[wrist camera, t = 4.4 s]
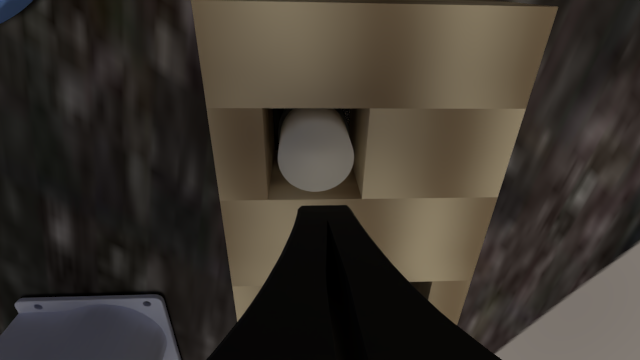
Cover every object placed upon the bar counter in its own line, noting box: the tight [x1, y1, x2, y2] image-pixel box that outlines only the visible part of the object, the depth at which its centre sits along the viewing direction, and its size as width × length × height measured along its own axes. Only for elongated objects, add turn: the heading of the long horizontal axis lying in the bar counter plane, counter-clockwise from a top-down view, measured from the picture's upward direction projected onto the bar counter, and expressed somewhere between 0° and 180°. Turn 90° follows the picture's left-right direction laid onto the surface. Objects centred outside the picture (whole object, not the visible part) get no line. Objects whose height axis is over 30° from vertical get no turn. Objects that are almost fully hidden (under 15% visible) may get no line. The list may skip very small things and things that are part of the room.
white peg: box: [278, 108, 354, 192], centre depth 16 cm, size 3×3×4 cm
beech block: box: [191, 0, 558, 325], centre depth 18 cm, size 12×20×5 cm, turn 179°
